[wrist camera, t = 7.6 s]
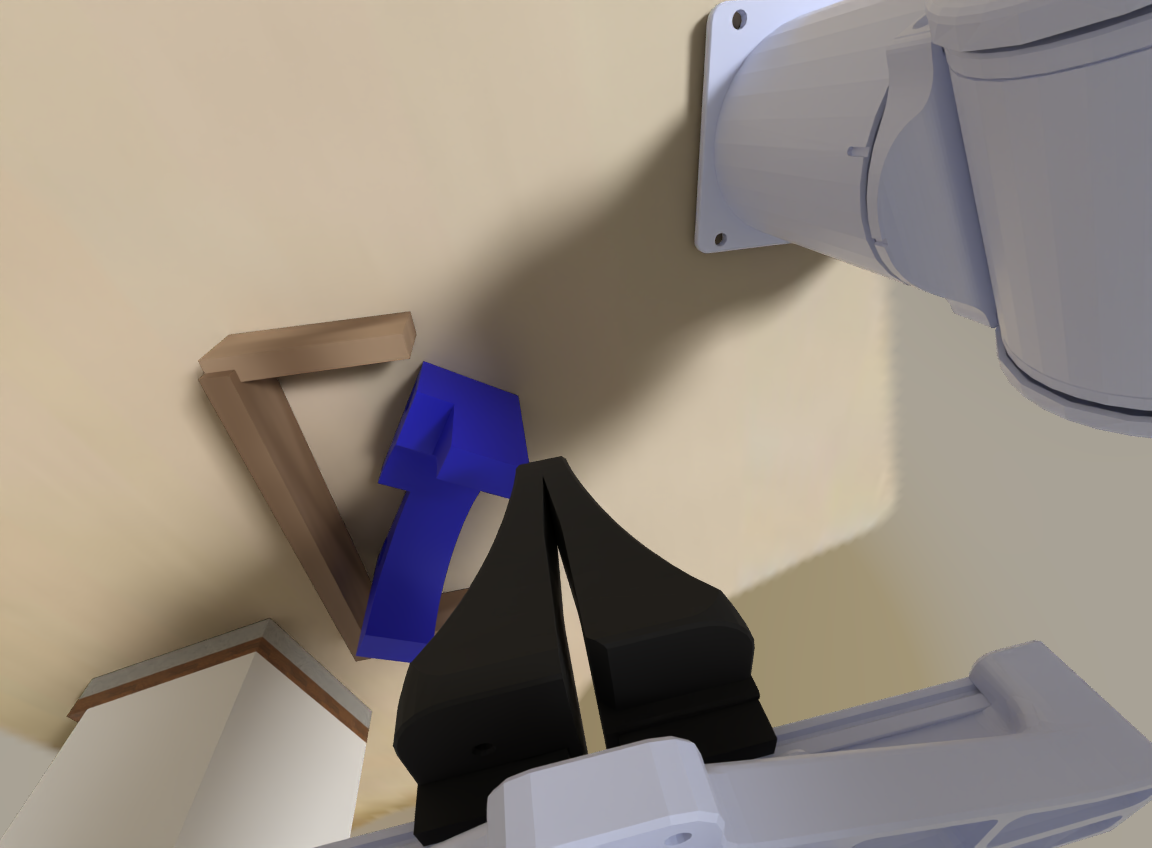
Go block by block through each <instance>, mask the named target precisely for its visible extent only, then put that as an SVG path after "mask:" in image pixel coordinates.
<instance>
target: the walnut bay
mask: <svg viewBox="0 0 1152 848" xmlns="http://www.w3.org/2000/svg"><path fill="white" fill-rule="evenodd" d="M415 338H416V331H415V327H414V324H413V320H412V316H411V312H403V313H395V314H387V315H379V316H371V317H364V318H356V319H348V320H340V321H333V322H325V323H317V324H309V325H301V326H294V327H286V328H278V329H270V330H262V331H255V332H247V333H239V334H231V335H228V336H227V337H226V338H224V339H223V340H222V341H221V342H220V343H218V344H217V345H216V346H215V347H214V348H213V349H211V350H210V351H209V352H208V353H207V354H205V355H204V356H203V357H202V358H201V359H199V360H198V362H199V364H200V365H201V367H202V369H203V371H204V373H205V374H204V375H203V376H202V377H201V378H200V379H198V380H199V382H200V384H201V386H202V388H203V389H204V391H205V393H206V395H207V397H208V398H209V400H210V402H211V404H212V405H213V407H214V409H215V411H216V413H217V414H218V416H219V418H220V420H221V422H222V423H223V425H224V427H225V429H226V430H227V432H228V434H229V436H230V438H231V439H232V441H233V443H234V445H235V447H236V448H237V450H238V452H239V454H240V455H241V457H242V459H243V461H244V463H245V464H246V466H247V468H248V470H249V472H250V473H251V475H252V477H253V479H254V480H255V482H256V484H257V486H258V488H259V489H260V491H261V493H262V495H263V497H264V498H265V500H266V502H267V504H268V505H269V507H270V509H271V511H272V513H273V514H274V516H275V518H276V520H277V522H278V523H279V525H280V527H281V529H282V530H283V532H284V534H285V536H286V538H287V539H288V541H289V543H290V545H291V547H292V548H293V550H294V552H295V554H296V555H297V557H298V559H299V561H300V563H301V564H302V566H303V568H304V570H305V572H306V573H307V575H308V577H309V579H310V580H311V582H312V584H313V586H314V588H315V589H316V591H317V593H318V595H319V597H320V598H321V600H322V602H323V604H324V606H325V607H326V609H327V611H328V613H329V614H330V616H331V618H332V620H333V622H334V623H335V625H336V627H337V629H338V631H339V632H340V634H341V636H342V638H343V639H344V641H345V643H346V645H347V647H348V648H349V650H350V652H351V654H352V656H353V657H354V659H355V661H361V660H366V659H371V658H368V657H360V656H356V652H357V647H358V643H359V639H360V634H361V630H362V625H363V621H364V617H365V612H366V608H367V603H368V599H369V594H370V590H371V586H372V584H371V581H370V579H369V577H368V575H367V573H366V571H365V568H364V566H363V564H362V562H361V560H360V558H359V555H358V553H357V551H356V549H355V547H354V544H353V542H352V540H351V538H350V536H349V534H348V531H347V529H346V527H345V525H344V523H343V521H342V518H341V516H340V514H339V512H338V510H337V507H336V505H335V503H334V501H333V499H332V497H331V494H330V492H329V490H328V488H327V486H326V484H325V481H324V479H323V477H322V475H321V473H320V470H319V468H318V466H317V464H316V462H315V460H314V457H313V455H312V453H311V451H310V449H309V447H308V444H307V442H306V440H305V438H304V436H303V433H302V431H301V429H300V427H299V425H298V423H297V420H296V418H295V416H294V414H293V412H292V410H291V407H290V405H289V403H288V401H287V399H286V396H285V394H284V392H283V390H282V388H281V386H280V383H279V381H278V379H277V377H280V376H288V375H295V374H302V373H309V372H316V371H323V370H331V369H338V368H345V367H352V366H359V365H367V364H374V363H381V362H388V361H395V360H403V359H410V355H411V352H412V348H413V345H414V341H415ZM468 589H469V588H468ZM468 589H463V590H458V591H452V592H447V593H442V594H441V598H440V603H439V608H438V613H437V620H436V626H435V634H436V633H437V632H438V631H439V629H440V628H441V627H442V626H443V624H444V623H445V621H446V620H447V619H448V617H449V616H450V615H451V613H452V612H453V611H454V609H455V608H456V606H457V605H458V604H459V602H460V601H461V599H462V598H463V596H464V595H465V593H466V592H467V590H468ZM435 634H434V635H435Z"/></svg>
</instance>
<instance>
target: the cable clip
mask: <svg viewBox="0 0 1152 848" xmlns="http://www.w3.org/2000/svg"><path fill="white" fill-rule="evenodd" d="M526 463H529V460H528V453H527V447H526V441H525V434H524V428H523V422H522V416H521V409H520V403H519V397H518V396H517V395H515V394H512V393H509V392H506V391H504V390H501V389H498V388H496V387H493V386H490V385H487V384H485V383H482V382H479V381H476V380H474V379H471V378H468V377H465V376H463V375H460V374H457V373H455V372H452V371H449V370H446V369H444V368H441V367H438V366H435V365H433V364H430V363H427V362H424V361H423V364H422V366H421V369H420V372H419V374H418V377H417V379H416V382H415V384H414V387H413V389H412V392H411V395H410V397H409V400H408V402H407V405H406V407H405V410H404V412H403V415H402V418H401V420H400V423H399V425H398V428H397V430H396V433H395V435H394V438H393V441H392V443H391V446H390V448H389V451H388V453H387V456H386V458H385V461H384V464H383V466H382V470H381V473H380V477H379V481H378V483H379V484H383V485H387V486H391V487H394V488H398V489H402V490H406V493H405V495H404V498H403V500H402V502H401V505H400V507H399V509H398V512H397V514H396V516H395V519H394V521H393V523H392V526H391V528H390V530H389V533H388V535H387V537H386V540H385V542H384V544H383V547H382V549H381V551H380V554H379V556H378V559H377V564H376V568H375V572H374V577H373V581H372V586H371V590H370V594H369V599H368V603H367V608H366V612H365V617H364V621H363V625H362V630H361V634H360V639H359V643H358V647H357V652H356V656H360V657H368V658H376V659H384V660H392V661H400V662H408V663H411V662H412V661H413V660H414V659H415V657H416V656H417V655H418V654H419V653H420V652H421V651H422V649H423V648H424V647H425V646H426V645H427V644H428V642H429V641H430V640H431V639H432V638H433V637H434V634H435V626H436V620H437V613H438V608H439V603H440V598H441V593H442V589H443V585H444V581H445V577H446V573H447V570H448V566H449V563H450V559H451V556H452V553H453V550H454V547H455V544H456V541H457V538H458V536H459V533H460V531H461V528H462V526H463V523H464V521H465V519H466V516H467V514H468V512H469V510H470V508H471V506H472V504H473V502H474V501H475V499H476V497H477V496H478V494H479V492H480V491H483V492H486V493H490V494H494V495H497V496H501V497H505V498H508V499H510V496H511V492H512V489H513V484H514V479H515V472H516V468H517V467H518V466H519V465H521V464H526Z"/></svg>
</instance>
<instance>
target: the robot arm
mask: <svg viewBox="0 0 1152 848" xmlns="http://www.w3.org/2000/svg"><path fill="white" fill-rule="evenodd" d="M735 12H738V13H739V14H740V15H741V20H742V22H741V25H740V27H739V29H738V30H737V29H735V28H734V27H733V25H732V18H733V15H734V13H735ZM720 233H722V234H723V239H722V241H721V242H720V243H719V244H715V238H716V236H717V235H718V234H720ZM788 243H794V244H796V245H799V246H802V247H805V248H807V249H810V250H813V251H816V252H818V253H821V254H824V255H827V256H829V257H832V258H835V259H838V260H840V261H843V262H846V263H849V264H851V265H854V266H857V267H860V268H862V269H865V270H868V271H871V272H873V273H876V274H879V275H882V276H884V277H887V278H890V279H893V280H895V281H898V282H901V283H903V284H906V285H910V286H913V287H915V288H917V289H920V290H923V291H925V292H929V293H931V294H934V295H937V296H940V297H943V298H945V299H946V300H947V301H948V302H949V303H950V305H951V308H952V310H953V312H954V313H955V314H958V315H960V316H963V317H965V318H968V319H970V320H973V321H976V322H978V323H981V324H984V325H986V326H989V327H991V328H995V327H997V328H996V330H995V331H996V346H997V356H998V360H999V363H1000V367H1001V369H1002V371H1003V373H1004V374H1005V376H1006V377H1007V379H1008V381H1009V382H1010V383H1011V384H1012V385H1013V386H1014V387H1015V388H1016V389H1017V390H1018V391H1019V392H1020V393H1021V394H1022V395H1023V396H1024V397H1025V398H1027V399H1028V400H1030V401H1031V402H1033V403H1035V404H1036V405H1038V406H1039V407H1041V408H1042V409H1044V410H1046V411H1049V412H1051V413H1053V414H1055V415H1058V416H1060V417H1062V418H1064V419H1067V420H1069V421H1073V422H1076V423H1079V424H1082V425H1085V426H1089V427H1092V428H1095V429H1099V430H1104V431H1110V432H1114V433H1119V434H1124V435H1129V436H1137V437H1146V438H1152V0H736V1H725V2H722V3H719V4H718V5H716V6H715V7H714V8H713V9H712V10H711V12H710V14H709V16H708V20H707V29H706V47H705V64H704V82H703V100H702V118H701V135H700V153H699V171H698V189H697V207H696V224H695V246H696V248H697V249H698V250H700V251H701V252H703V253H715V252H723V251H731V250H739V249H747V248H755V247H763V246H771V245H780V244H788ZM557 545H558V547H557ZM558 549H559V552H560V555H561V559H562V562H563V565H564V569H565V572H566V575H567V579H568V582H569V585H570V588H571V592H572V595H573V598H574V602H575V605H576V608H577V611H578V615H579V619H580V623H581V627H582V632H583V637H584V642H585V646H586V651H587V656H588V661H589V666H590V671H591V676H592V681H593V685H594V690H595V695H596V700H597V705H598V709H599V715H600V720H601V724H602V729H603V734H604V739H605V744H606V750H603V751H599V752H595V753H591V754H588V751H587V746H586V741H585V736H584V730H583V725H582V719H581V714H580V708H579V703H578V697H577V692H576V686H575V681H574V675H573V670H572V664H571V659H570V653H569V648H568V642H567V637H566V631H565V624H564V616H563V605H562V593H561V581H560V570H559V558H558ZM754 649H755V647H754V638H753V637H752V635H751V632H750V630H749V628H748V627H747V625H746V623H745V622H744V620H743V619H742V617H741V616H740V614H739V613H738V612H737V610H736V609H735V607H734V606H733V605H732V603H731V602H730V601H729V600H728V598H727V597H726V596H725V595H724V594H723V592H722V591H721V590H719V589H717V588H715V587H713V586H711V585H709V584H707V583H705V582H703V581H700V580H698V579H696V578H694V577H692V576H690V575H689V574H687V573H685V572H684V571H682V570H680V569H678V568H677V567H675V566H673V565H672V564H670V563H669V562H667V561H666V560H664V559H663V558H661V557H660V556H658V555H657V554H655V553H654V552H652V551H651V550H649V549H648V548H647V547H645V546H644V545H643V544H641V543H640V542H639V541H637V540H636V539H635V538H634V537H632V536H631V535H630V534H629V533H628V532H626V531H625V530H624V529H623V528H622V527H621V526H620V525H619V524H617V523H616V522H615V521H614V520H613V519H612V518H611V517H610V516H609V515H608V514H607V513H606V512H605V511H604V510H603V509H602V508H601V507H600V505H599V504H598V503H597V502H596V501H595V500H594V499H593V498H592V496H591V495H590V494H589V493H588V492H587V490H586V489H585V488H584V487H583V485H582V484H581V483H580V481H579V480H578V479H577V477H576V476H575V474H574V473H573V471H572V470H571V468H570V466H569V464H568V463H567V460H566V459H565V458H564V457H562V456H560V457H555V458H550V459H545V460H541V461H536V462H531V463H526V464H521V465H519V466H518V467H517V468H516V472H515V479H514V484H513V489H512V492H511V496H510V500H509V503H508V506H507V509H506V512H505V515H504V518H503V521H502V523H501V526H500V528H499V530H498V533H497V535H496V538H495V540H494V542H493V545H492V547H491V549H490V551H489V553H488V555H487V557H486V559H485V561H484V563H483V565H482V567H481V568H480V570H479V572H478V574H477V575H476V577H475V579H474V580H473V582H472V584H471V585H470V587H469V589H468V590H467V592H466V593H465V595H464V596H463V598H462V599H461V601H460V602H459V604H458V605H457V606H456V608H455V609H454V611H453V612H452V613H451V615H450V616H449V617H448V619H447V620H446V621H445V623H444V624H443V626H442V627H441V628H440V629H439V631H438V632H437V633H436V634H435V635H434V637H433V638H432V639H431V640H430V641H429V642H428V644H427V645H426V646H425V647H424V648H423V649H422V651H421V652H420V653H419V654H418V655H417V656H416V657H415V659H414V660H413V661H412V662H411V663H410V665H409V668H408V671H407V674H406V677H405V681H404V684H403V688H402V692H401V695H400V699H399V704H398V710H397V718H396V726H395V734H394V742H393V747H394V749H395V752H396V754H397V756H398V757H399V759H400V760H401V762H402V763H403V764H404V766H405V767H406V768H407V770H408V771H409V773H410V774H411V775H412V777H413V778H414V780H415V781H416V782H417V784H418V788H417V799H416V811H415V821H414V822H410V823H406V824H402V825H398V826H394V827H391V828H387V829H383V830H379V831H375V832H372V833H367V834H364V835H360V836H356V837H352V838H348V839H344V840H341V841H337V842H333V843H329V844H325V845H321V846H318V847H314V848H1058V847H1060V846H1063V845H1067V844H1070V843H1073V842H1076V841H1080V840H1083V839H1086V838H1090V837H1093V836H1096V835H1099V834H1102V833H1106V832H1109V831H1111V830H1113V829H1114V828H1115V827H1117V826H1118V825H1119V824H1121V823H1122V822H1123V821H1125V820H1126V819H1127V818H1129V817H1130V816H1131V815H1133V814H1134V813H1135V812H1137V811H1138V810H1139V809H1141V808H1142V807H1143V806H1145V805H1146V804H1147V803H1149V802H1150V801H1151V800H1152V743H1151V742H1150V741H1149V740H1148V739H1147V738H1146V737H1145V736H1144V735H1143V734H1141V733H1140V732H1139V731H1138V730H1137V729H1136V728H1135V727H1134V726H1133V725H1132V724H1131V723H1129V722H1128V721H1127V720H1126V719H1125V718H1124V717H1123V716H1122V715H1121V714H1120V713H1119V712H1117V711H1116V710H1115V709H1114V708H1113V707H1112V706H1111V705H1110V704H1109V703H1108V702H1107V701H1105V700H1104V699H1103V698H1102V697H1101V696H1100V695H1099V694H1098V693H1097V692H1095V691H1094V690H1093V689H1092V688H1091V687H1090V686H1089V685H1088V684H1087V683H1086V682H1085V681H1084V680H1083V679H1081V678H1080V677H1079V676H1078V675H1077V674H1076V673H1075V672H1074V671H1073V670H1072V669H1070V668H1069V667H1068V666H1067V665H1066V664H1065V663H1064V662H1063V661H1062V660H1061V659H1060V658H1059V657H1057V656H1056V655H1055V654H1054V653H1053V652H1052V651H1051V650H1050V649H1049V648H1048V647H1047V646H1045V645H1044V644H1043V643H1042V642H1041V641H1036V640H1034V641H1030V642H1026V643H1022V644H1018V645H1014V646H1011V647H1006V648H1003V649H999V650H995V651H992V652H989V653H987V654H985V655H983V656H982V657H980V658H978V659H977V660H976V662H975V663H974V664H973V666H972V668H971V670H970V672H969V677H966V678H962V679H958V680H954V681H951V682H947V683H943V684H939V685H936V686H931V687H927V688H924V689H920V690H916V691H913V692H908V693H904V694H901V695H897V696H893V697H889V698H885V699H881V700H878V701H874V702H870V703H866V704H862V705H859V706H855V707H851V708H847V709H843V710H840V711H835V712H832V713H828V714H824V715H820V716H816V717H812V718H809V719H805V720H801V721H797V722H794V723H789V724H786V725H782V726H778V727H774V728H772V727H771V724H770V722H769V720H768V718H767V716H766V714H765V712H764V710H763V708H762V706H761V704H760V702H759V700H758V699H759V698H760V694H759V690H758V688H757V686H756V684H755V682H754V680H753V678H752V676H751V670H752V663H753V656H754Z"/></svg>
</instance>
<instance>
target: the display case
mask: <svg viewBox="0 0 1152 848" xmlns="http://www.w3.org/2000/svg"><path fill="white" fill-rule="evenodd" d="M371 714H372V711H371V710H370V709H369V708H368V707H367V706H366V705H364V704H363V703H362V702H361V701H360V700H359V699H358V698H357V697H356V696H355V695H353V694H352V693H351V692H350V691H349V690H348V689H347V688H346V687H345V686H344V685H343V684H341V683H340V682H339V681H338V680H337V679H336V678H335V677H334V676H333V675H332V674H330V673H329V672H328V671H327V670H326V669H325V668H324V667H323V666H322V665H321V664H320V663H318V662H317V661H316V660H315V659H314V658H313V657H312V656H311V655H310V654H309V653H307V652H306V651H305V650H304V649H303V648H302V647H301V646H300V645H299V644H298V643H297V642H295V641H294V640H293V639H292V638H291V637H290V636H289V635H288V634H287V633H286V632H284V631H283V630H282V629H281V628H280V627H279V626H278V625H277V624H276V623H275V622H274V621H272V620H271V619H270V618H269V619H266V620H263V621H260V622H258V623H255V624H252V625H249V626H246V627H243V628H240V629H237V630H234V631H231V632H228V633H225V634H222V635H220V636H217V637H214V638H211V639H208V640H205V641H202V642H199V643H196V644H193V645H190V646H187V647H185V648H182V649H179V650H176V651H173V652H170V653H167V654H164V655H161V656H158V657H155V658H152V659H149V660H147V661H144V662H141V663H138V664H135V665H132V666H129V667H126V668H123V669H120V670H117V671H114V672H112V673H109V674H106V675H103V676H100V677H97V678H94V679H92V680H91V682H90V683H89V685H88V686H87V688H86V689H85V691H84V692H83V693H82V695H81V696H80V698H79V699H78V701H77V702H76V704H75V705H74V706H73V708H72V709H71V711H70V712H69V714H68V715H67V717H69V718H71V719H73V720H75V721H76V722H78V724H77V725H76V727H75V728H74V730H73V731H72V733H71V734H70V736H69V737H68V739H67V740H66V742H65V743H64V745H63V746H62V748H61V749H60V751H59V752H58V754H57V755H56V757H55V758H54V760H53V761H52V763H51V764H50V766H49V767H48V769H47V771H46V772H45V773H44V775H43V776H42V778H41V779H40V781H39V783H38V784H37V785H36V787H35V788H34V790H33V791H32V793H31V794H30V796H29V798H28V799H27V800H26V802H25V803H24V805H23V806H22V808H21V809H20V811H19V813H18V814H17V816H16V817H15V819H14V820H13V821H12V823H11V825H10V826H9V828H8V829H7V830H6V832H5V833H4V835H3V836H2V838H1V840H0V848H314V847H318V846H321V845H325V844H329V843H333V842H337V841H341V840H344V839H348V838H350V833H351V827H352V822H353V816H354V810H355V805H356V799H357V793H358V788H359V782H360V777H361V771H362V765H363V760H364V754H365V748H366V743H367V737H368V731H369V726H370V720H371Z"/></svg>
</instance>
